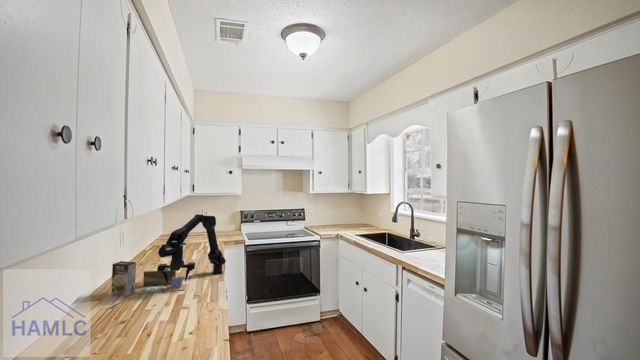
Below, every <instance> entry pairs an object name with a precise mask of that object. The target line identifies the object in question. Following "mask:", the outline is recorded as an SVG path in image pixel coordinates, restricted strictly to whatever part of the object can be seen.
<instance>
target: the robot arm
mask: <svg viewBox="0 0 640 360" xmlns="http://www.w3.org/2000/svg"><path fill="white" fill-rule="evenodd" d="M216 219H217V218H216V216H215V215H205V214H204V215H203V214H198V213H196V214H195V215H194V216H193V217H192V218H191V219H190V220H189V221H187V223H186V224H184V225H183V226H181V227H180V228H177V229H175V230H173V231H172V232H171V233H170V236H169V237H168V238H167V240H166V242H165V244H164V243H163V244H161V247H159V249H158V251H157V253H158V256H159V257H160V258H162V259H164V258H166V257H167V258H168V257H171V260H170V263H169V265H168V263H159V265H157V269H156V271H160V273H163V275H164V277H165V279H166V282H167V283H168V270H170V271H173V270H176V271H177V272H178V271H180V270H181V269H186V270H185V278H184V282H187V279H188V276H189V274H190V272H191V271H193V270H195V268H196V262H193V261H192V262H191V261H190V262H187V264H185V260H184V246H187V243H186V241H185V240H186V239H187V238H188V237H189V233H191V231H192V230H194V229H195V228H196V227H197V226H198V225H199V224H200V223H201V225H202V227H203V228H204V229H205V230H206V234H207V241H208V244H209V252H208V253H207V256H208V258H207V260H209V263H210V264H212V271H211V274H212V275H221V274H222V275H223V265H225V264H226V261H227V260H226V259H225V257H224V255H223V252H222V250H221V249H220V248H219V245H218V239H217V236H216V229H215V228H216V226H217V220H216Z"/></svg>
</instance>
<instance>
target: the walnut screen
mask: <svg viewBox="0 0 640 360" xmlns="http://www.w3.org/2000/svg"><path fill="white" fill-rule="evenodd" d="M176 271H177V270H173V271H170V269H168V283H167V282H166V279H165V277H164V275H163V273H160V271H157V270H145V271H144V272H143V280H142V283H143V285H142V286H143V287H142V288H144V286H146V287H149V286H168V285H171V279H172V277H177V275H176Z"/></svg>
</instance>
